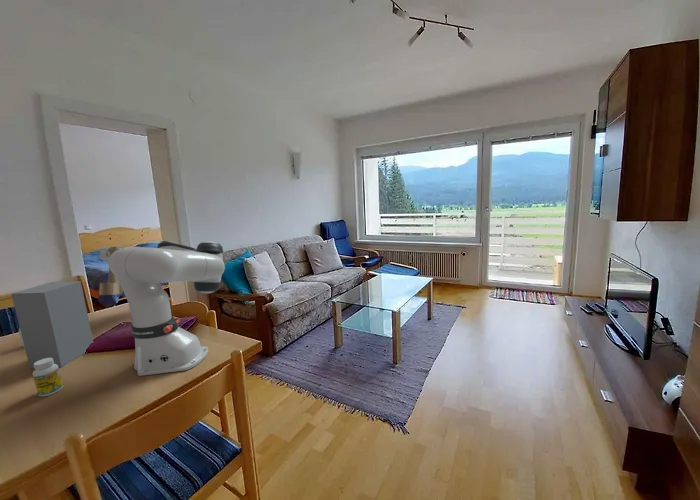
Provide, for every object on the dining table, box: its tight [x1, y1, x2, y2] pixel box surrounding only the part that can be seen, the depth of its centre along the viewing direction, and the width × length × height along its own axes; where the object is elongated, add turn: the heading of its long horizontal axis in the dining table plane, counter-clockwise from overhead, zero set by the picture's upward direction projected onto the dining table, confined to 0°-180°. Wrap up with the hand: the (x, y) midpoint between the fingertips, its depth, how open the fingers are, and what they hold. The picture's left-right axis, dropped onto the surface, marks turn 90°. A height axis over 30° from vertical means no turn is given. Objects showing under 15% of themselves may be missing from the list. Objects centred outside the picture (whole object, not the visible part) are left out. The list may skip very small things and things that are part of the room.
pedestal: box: [11, 280, 94, 369], centre depth 107 cm, size 11×13×26 cm
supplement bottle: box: [32, 358, 64, 397], centre depth 89 cm, size 5×5×10 cm
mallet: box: [98, 246, 124, 296], centre depth 132 cm, size 6×20×5 cm
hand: (112, 249), depth 132 cm, fingers closed on mallet, 3 cm apart
